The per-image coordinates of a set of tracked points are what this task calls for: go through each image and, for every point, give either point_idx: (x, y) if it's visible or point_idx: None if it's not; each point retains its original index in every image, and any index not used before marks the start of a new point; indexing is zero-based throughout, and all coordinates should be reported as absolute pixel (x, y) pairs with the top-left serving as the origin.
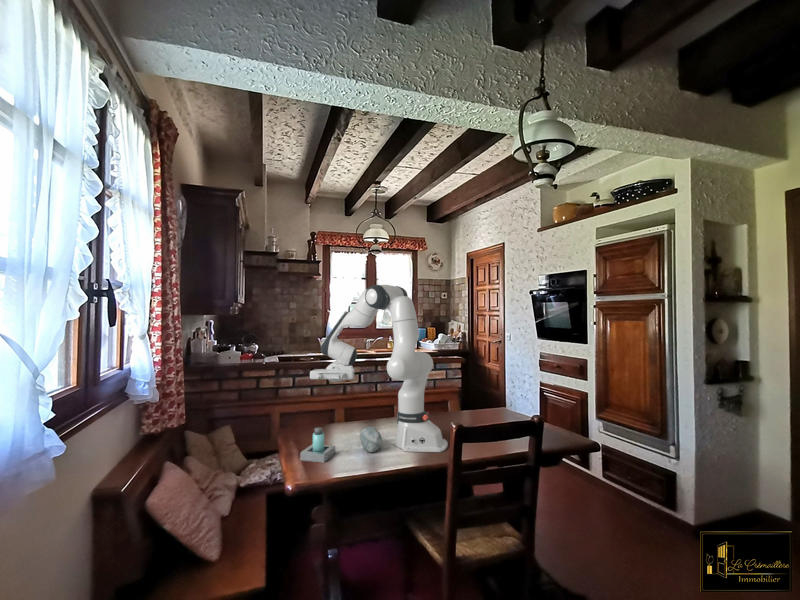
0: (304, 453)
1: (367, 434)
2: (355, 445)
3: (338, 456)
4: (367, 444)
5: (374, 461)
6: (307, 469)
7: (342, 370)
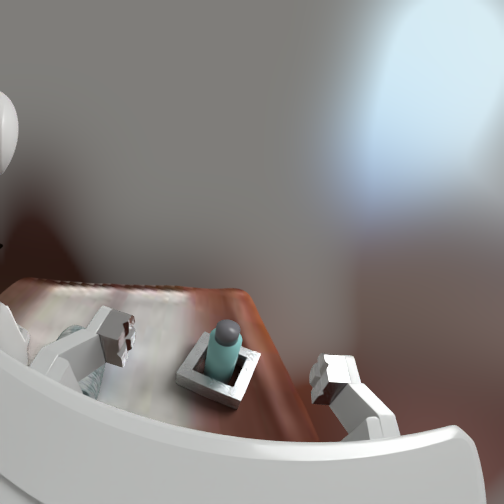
0: (250, 351)
1: None
2: None
3: (169, 365)
4: None
5: None
6: None
7: (27, 456)
